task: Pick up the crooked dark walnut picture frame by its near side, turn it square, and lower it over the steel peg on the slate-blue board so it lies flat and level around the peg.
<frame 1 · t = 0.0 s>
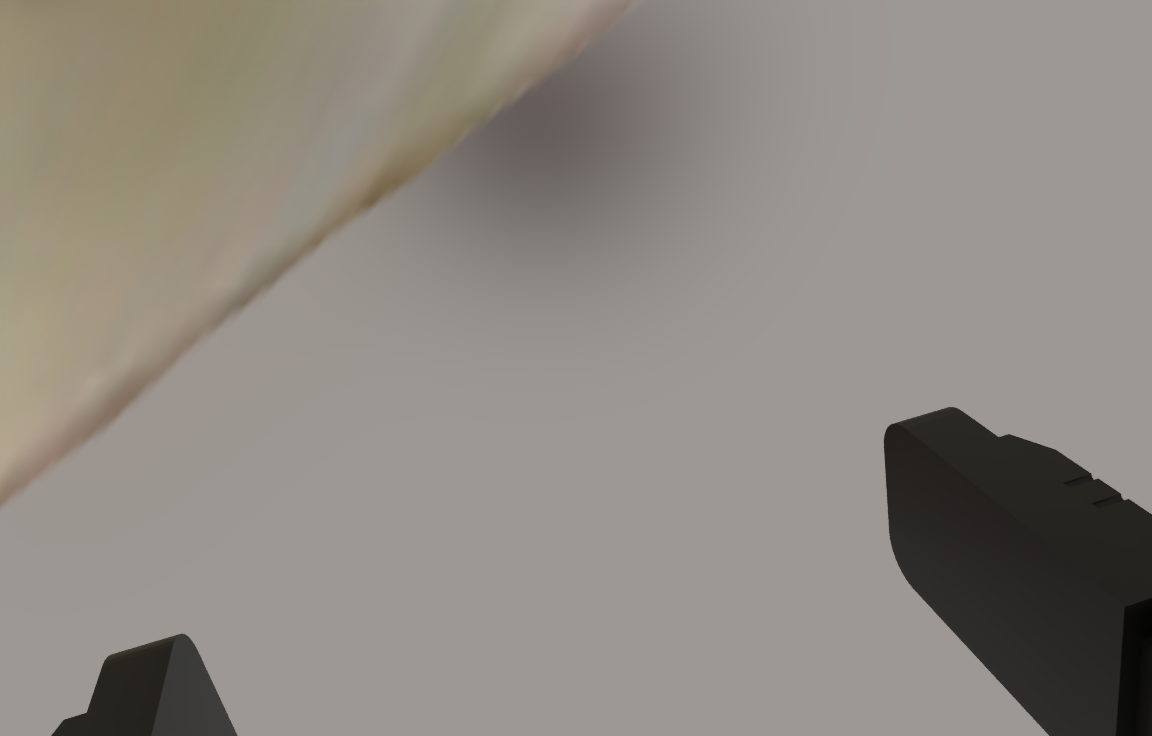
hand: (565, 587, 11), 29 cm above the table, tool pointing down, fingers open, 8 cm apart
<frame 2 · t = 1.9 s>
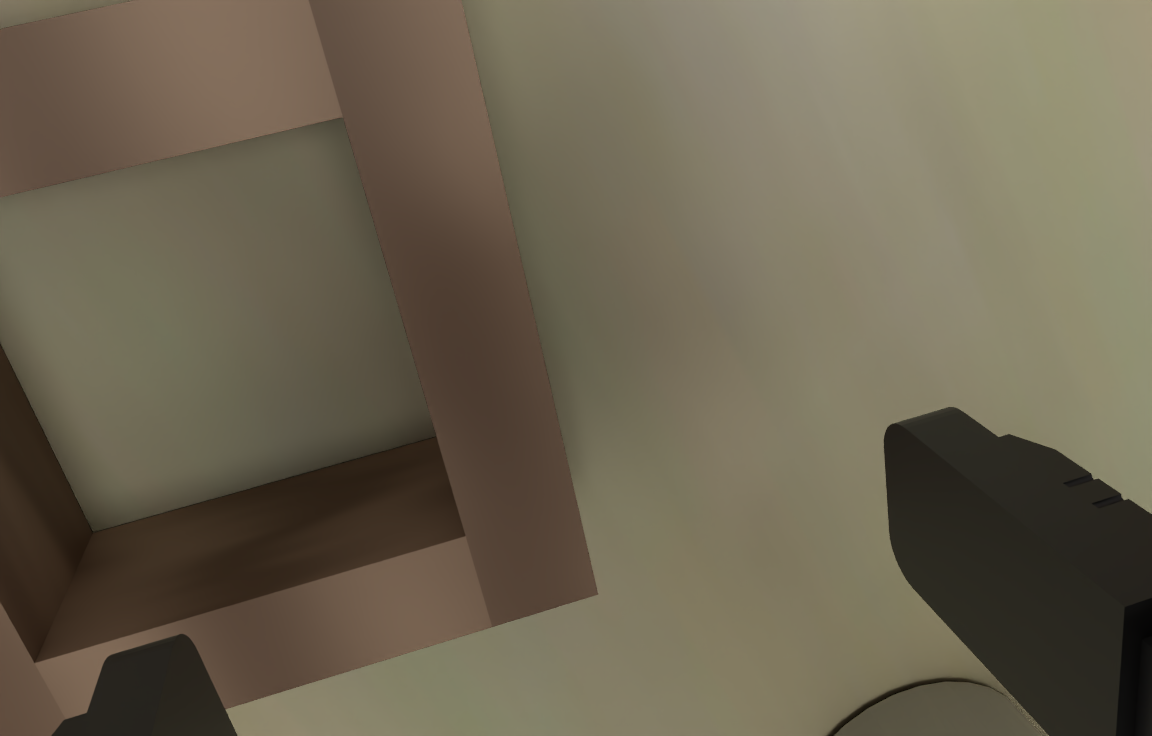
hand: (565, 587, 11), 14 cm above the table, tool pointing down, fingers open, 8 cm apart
frame: (210, 322, 23), on the table
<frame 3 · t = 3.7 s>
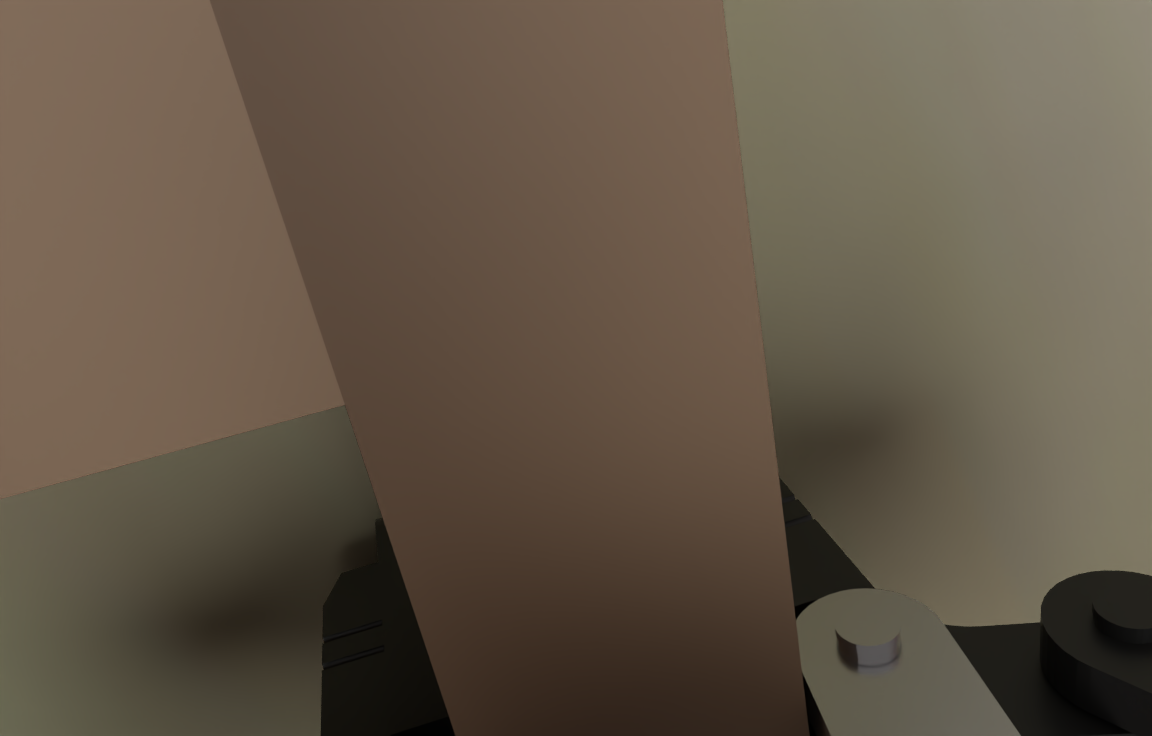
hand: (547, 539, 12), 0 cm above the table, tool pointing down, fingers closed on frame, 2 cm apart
frame: (74, 665, 11), on the table, touching gripper
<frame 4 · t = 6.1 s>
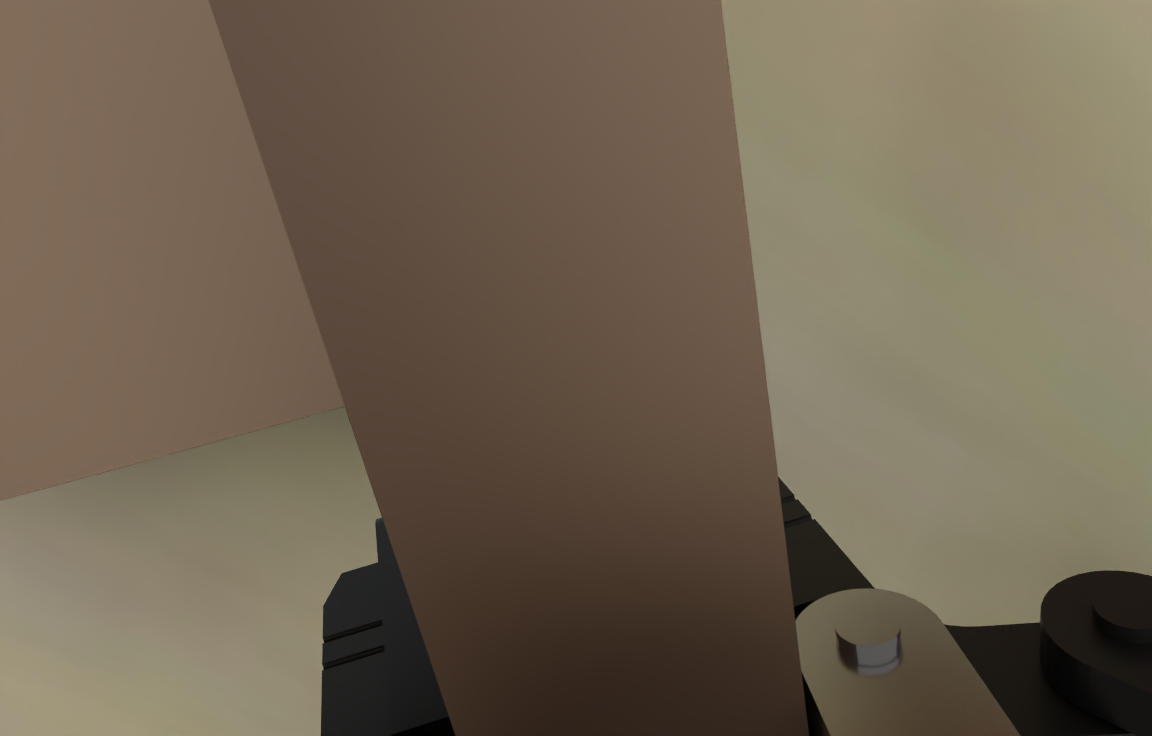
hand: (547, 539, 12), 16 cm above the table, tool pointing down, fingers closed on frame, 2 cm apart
frame: (75, 666, 11), point 16 cm above the table, touching gripper
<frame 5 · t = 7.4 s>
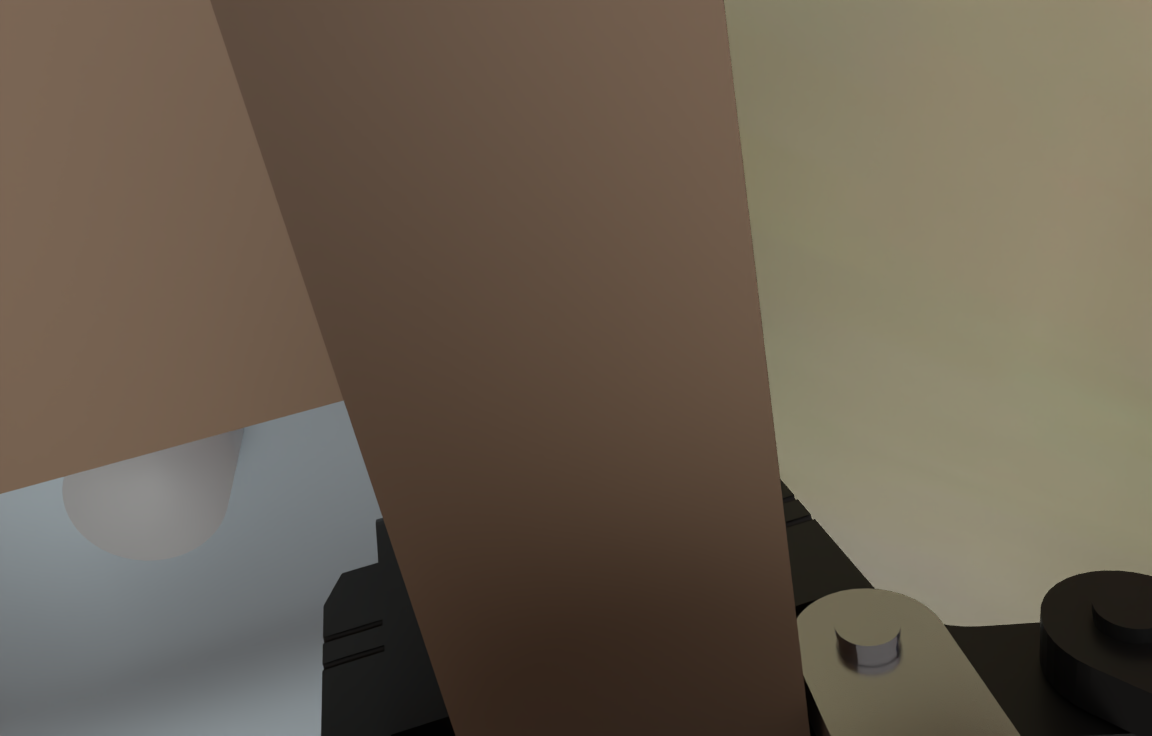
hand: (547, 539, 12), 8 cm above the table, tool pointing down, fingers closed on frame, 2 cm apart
peg board: (185, 392, 18), on the table
frame: (73, 664, 11), point 8 cm above the table, touching gripper
when the fingers open (4 cm above the table, at t = 8.4 s): frame drops 2 cm, resting on peg board.
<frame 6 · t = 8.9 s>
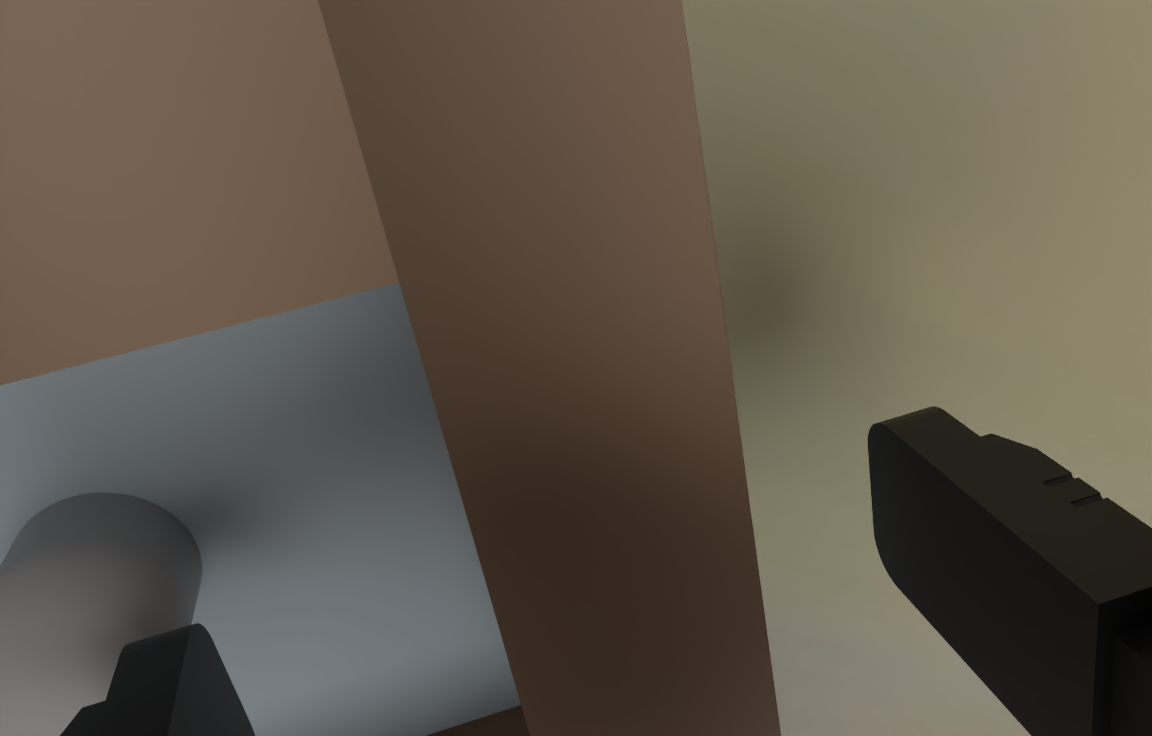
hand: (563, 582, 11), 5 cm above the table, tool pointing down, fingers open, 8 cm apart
peg board: (129, 513, 14), on the table
frame: (142, 561, 13), point 1 cm above the table, touching peg board
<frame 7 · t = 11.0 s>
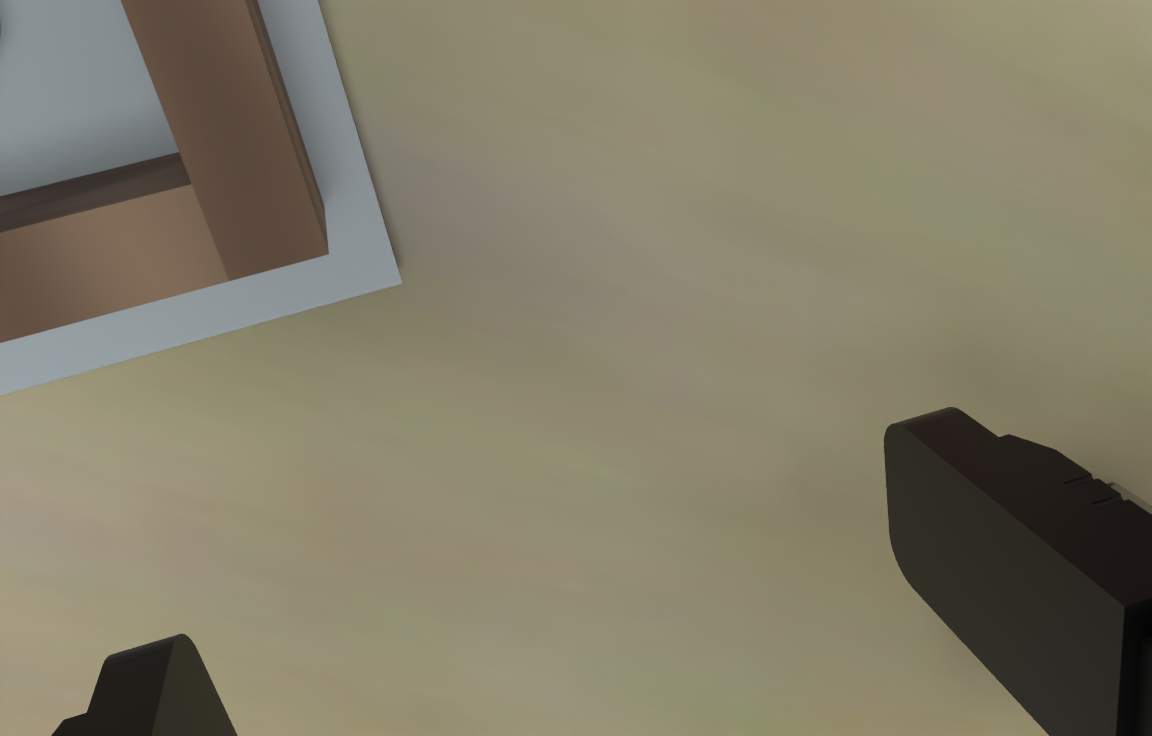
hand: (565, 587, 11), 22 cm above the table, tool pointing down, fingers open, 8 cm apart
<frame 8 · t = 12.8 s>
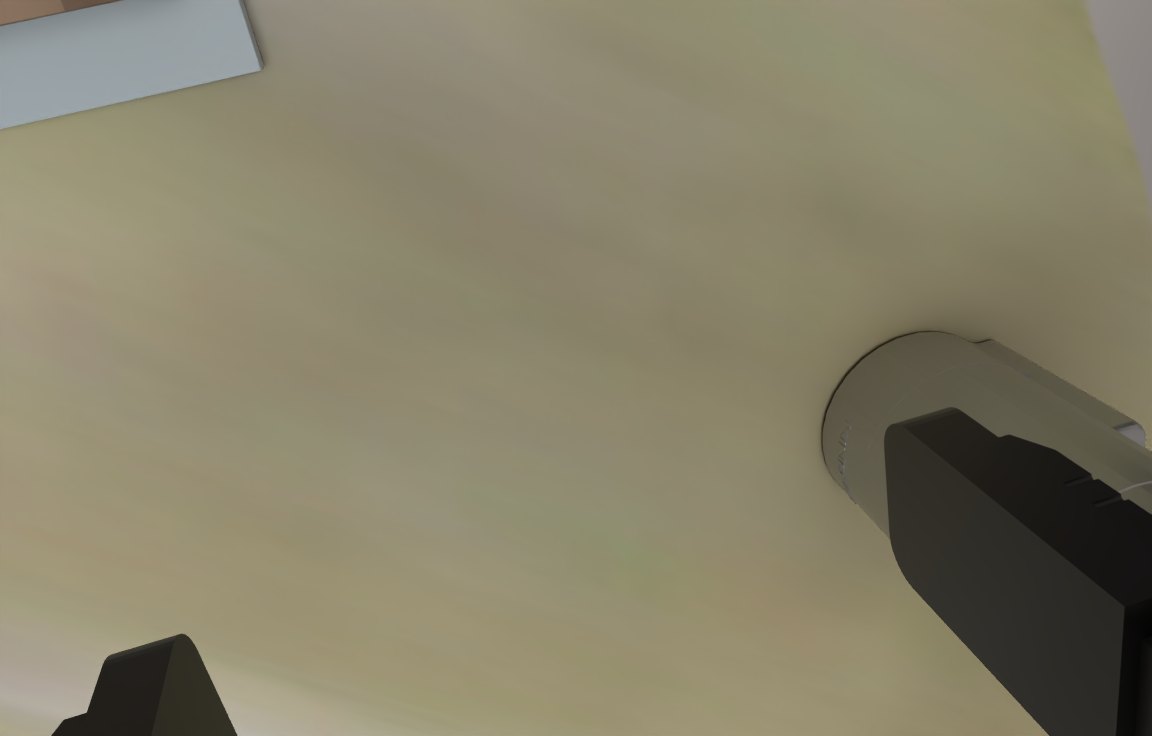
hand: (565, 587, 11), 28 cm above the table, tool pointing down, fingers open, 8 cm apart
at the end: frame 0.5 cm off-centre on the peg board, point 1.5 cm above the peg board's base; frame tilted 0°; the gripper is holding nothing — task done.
